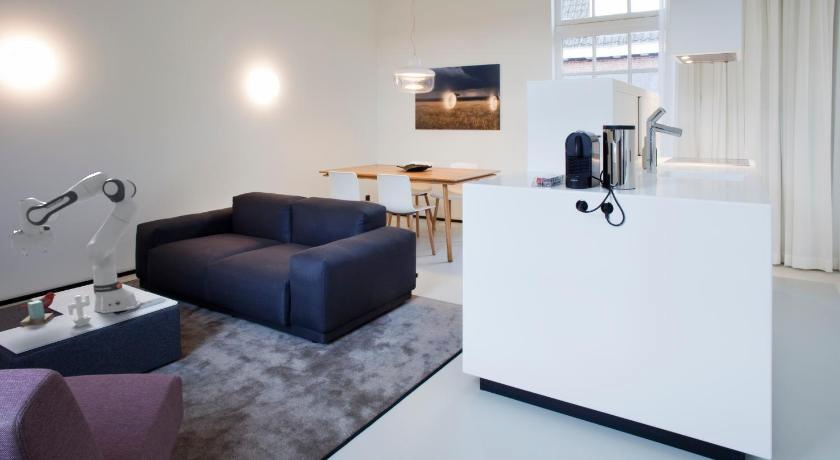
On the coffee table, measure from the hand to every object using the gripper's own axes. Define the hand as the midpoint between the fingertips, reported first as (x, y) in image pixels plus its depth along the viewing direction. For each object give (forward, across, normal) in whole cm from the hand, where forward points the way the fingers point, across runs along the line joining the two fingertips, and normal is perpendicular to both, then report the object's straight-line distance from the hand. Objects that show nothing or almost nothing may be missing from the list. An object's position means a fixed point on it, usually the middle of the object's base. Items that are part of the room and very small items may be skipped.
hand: (35, 254), depth 299 cm
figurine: (+31, 0, -43) cm, 53 cm away
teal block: (+29, -9, -17) cm, 35 cm away
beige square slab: (+31, -10, -17) cm, 37 cm away
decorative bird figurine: (+31, -3, -2) cm, 32 cm away
